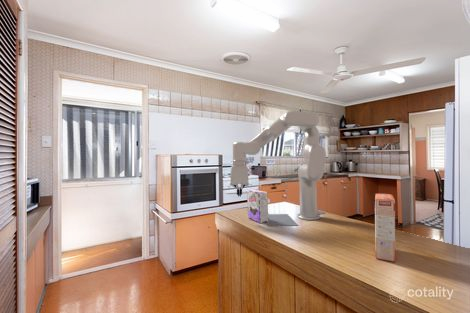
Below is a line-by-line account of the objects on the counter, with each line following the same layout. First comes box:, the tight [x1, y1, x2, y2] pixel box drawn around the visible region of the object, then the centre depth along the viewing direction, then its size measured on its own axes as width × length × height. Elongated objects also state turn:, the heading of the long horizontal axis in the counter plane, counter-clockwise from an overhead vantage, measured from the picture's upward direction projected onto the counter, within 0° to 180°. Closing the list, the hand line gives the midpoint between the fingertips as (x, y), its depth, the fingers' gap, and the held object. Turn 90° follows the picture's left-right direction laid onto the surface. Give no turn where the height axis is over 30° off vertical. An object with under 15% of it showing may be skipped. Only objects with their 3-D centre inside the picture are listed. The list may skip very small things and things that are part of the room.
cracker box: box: [374, 193, 396, 263], centre depth 84 cm, size 14×6×21 cm, turn 148°
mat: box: [264, 213, 299, 227], centre depth 131 cm, size 16×24×1 cm, turn 0°
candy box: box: [246, 189, 269, 224], centre depth 131 cm, size 14×6×16 cm, turn 25°
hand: (239, 196), depth 131 cm, fingers closed
